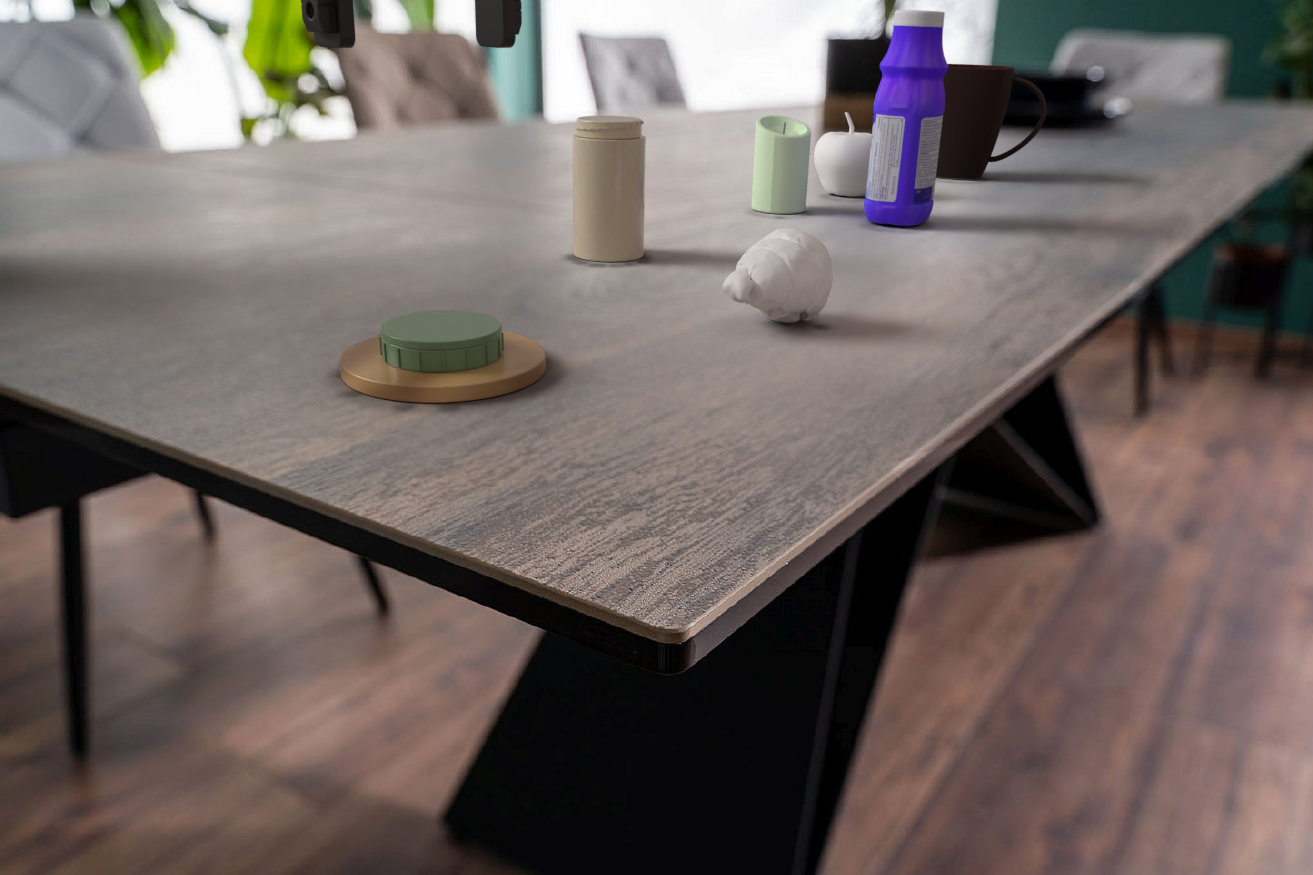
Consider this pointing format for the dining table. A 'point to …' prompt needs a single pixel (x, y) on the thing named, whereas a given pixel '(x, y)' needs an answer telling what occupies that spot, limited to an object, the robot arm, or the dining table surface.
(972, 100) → the cup
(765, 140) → the candle
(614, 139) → the jar
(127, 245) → the dining table surface
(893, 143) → the bottle
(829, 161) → the plain white apple
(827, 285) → the garlic bulb
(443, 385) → the coaster
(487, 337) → the lid
